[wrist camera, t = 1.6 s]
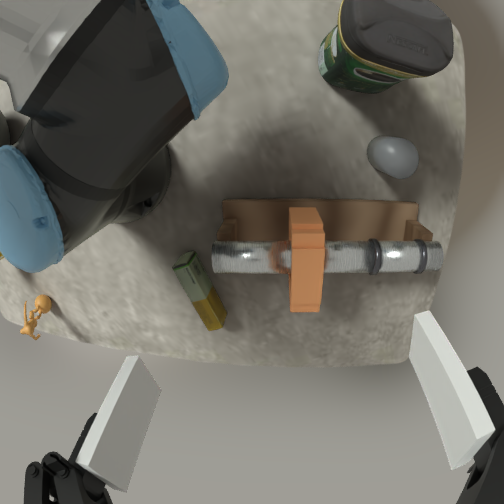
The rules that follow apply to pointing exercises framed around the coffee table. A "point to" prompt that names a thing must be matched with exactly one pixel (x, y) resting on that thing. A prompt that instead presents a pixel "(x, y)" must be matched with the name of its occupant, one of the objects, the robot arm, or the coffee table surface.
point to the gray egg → (393, 156)
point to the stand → (332, 215)
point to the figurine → (43, 307)
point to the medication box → (200, 290)
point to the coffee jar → (385, 44)
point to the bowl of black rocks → (4, 131)
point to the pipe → (329, 256)
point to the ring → (306, 259)
